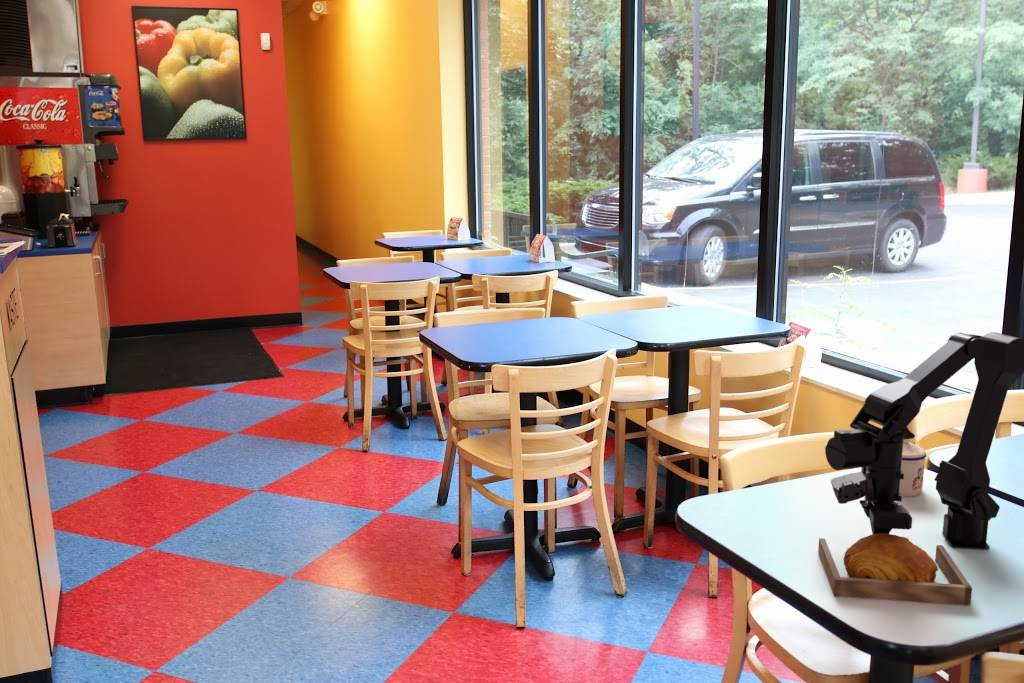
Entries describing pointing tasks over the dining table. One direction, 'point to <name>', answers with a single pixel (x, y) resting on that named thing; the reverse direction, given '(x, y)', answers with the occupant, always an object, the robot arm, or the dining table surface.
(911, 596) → the walnut u-shaped frame
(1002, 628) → the dining table surface
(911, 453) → the teacup with lid
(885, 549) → the croissant
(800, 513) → the dining table surface
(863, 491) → the robot arm
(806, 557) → the dining table surface
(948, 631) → the dining table surface
